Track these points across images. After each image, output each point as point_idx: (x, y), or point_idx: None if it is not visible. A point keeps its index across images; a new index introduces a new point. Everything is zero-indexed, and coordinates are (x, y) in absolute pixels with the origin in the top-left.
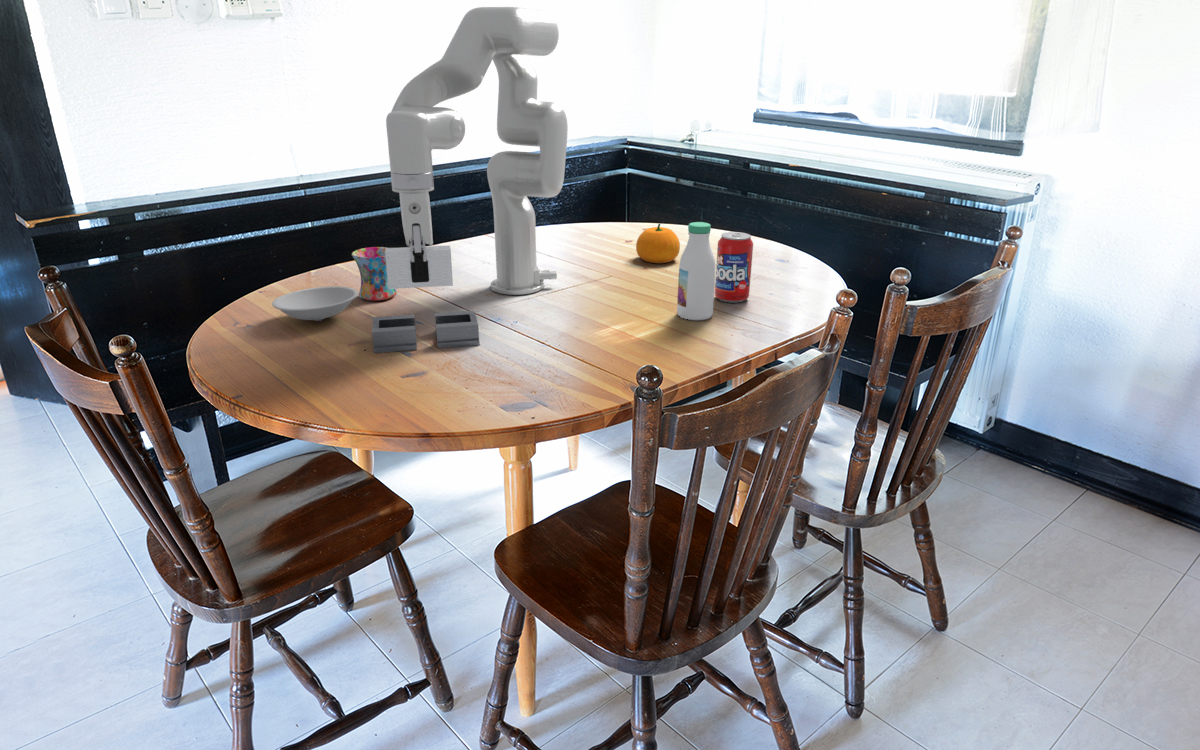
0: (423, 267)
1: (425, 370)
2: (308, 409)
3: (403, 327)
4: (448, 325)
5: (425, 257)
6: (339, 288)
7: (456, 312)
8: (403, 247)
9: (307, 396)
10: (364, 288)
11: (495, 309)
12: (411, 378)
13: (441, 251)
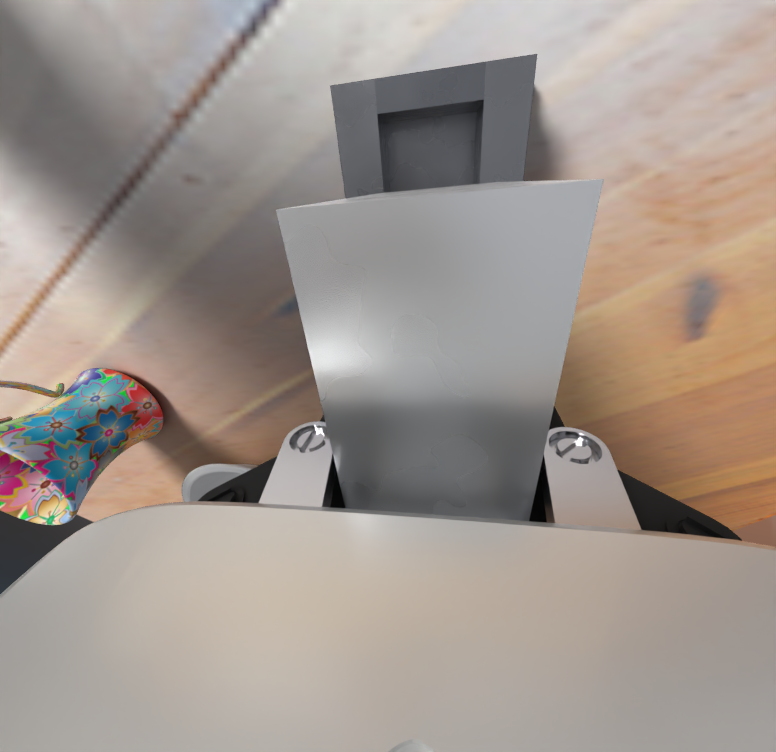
0: (560, 421)
1: (682, 278)
2: (759, 490)
3: None
4: None
5: (613, 466)
6: (191, 493)
7: (351, 181)
8: None
9: (688, 493)
10: (137, 441)
11: (119, 5)
12: (722, 314)
13: (566, 331)
